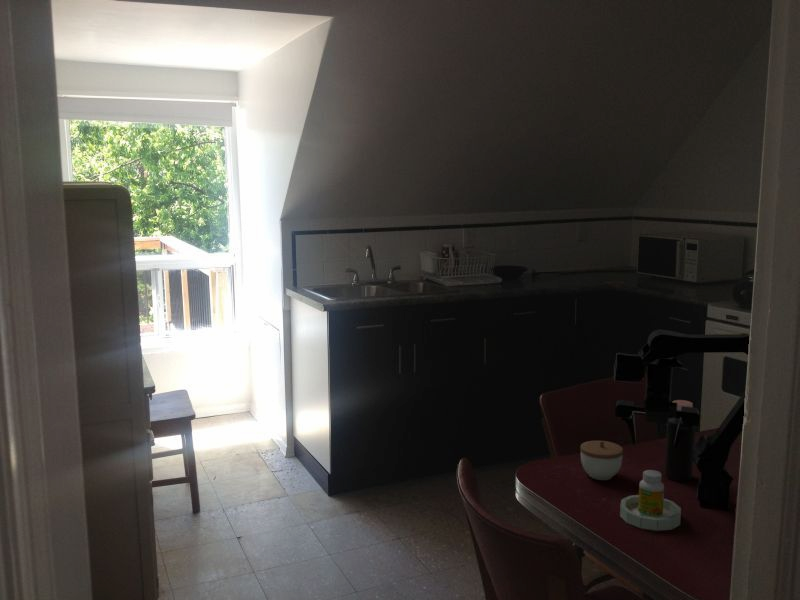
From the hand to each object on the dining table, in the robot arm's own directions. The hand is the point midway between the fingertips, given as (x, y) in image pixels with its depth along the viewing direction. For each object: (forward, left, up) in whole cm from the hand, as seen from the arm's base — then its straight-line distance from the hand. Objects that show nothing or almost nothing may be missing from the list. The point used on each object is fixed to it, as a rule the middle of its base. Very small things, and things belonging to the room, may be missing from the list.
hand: (654, 446), depth 177 cm
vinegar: (-6, -16, -13) cm, 22 cm away
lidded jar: (+13, -10, -13) cm, 21 cm away
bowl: (0, +11, -13) cm, 17 cm away
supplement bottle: (0, +11, -13) cm, 16 cm away
